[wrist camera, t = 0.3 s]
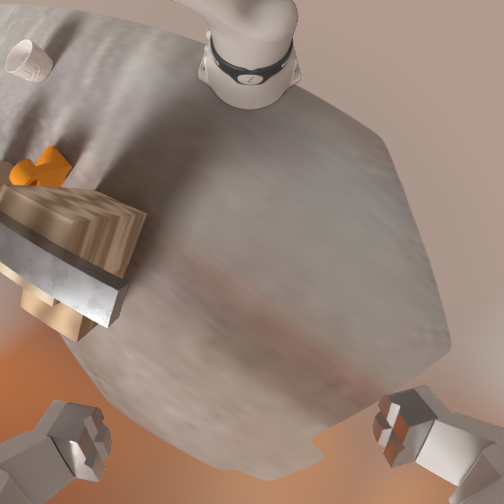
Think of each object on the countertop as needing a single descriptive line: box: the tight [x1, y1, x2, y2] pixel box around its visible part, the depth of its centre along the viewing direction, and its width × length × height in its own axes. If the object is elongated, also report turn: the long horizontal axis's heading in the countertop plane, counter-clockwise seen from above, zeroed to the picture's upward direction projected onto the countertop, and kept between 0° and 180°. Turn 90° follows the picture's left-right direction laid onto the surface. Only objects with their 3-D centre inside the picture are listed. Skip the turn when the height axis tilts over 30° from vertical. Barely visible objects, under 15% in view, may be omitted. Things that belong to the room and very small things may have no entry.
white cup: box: [5, 39, 53, 83], centre depth 42 cm, size 8×8×10 cm
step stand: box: [0, 184, 147, 342], centre depth 40 cm, size 12×20×26 cm, turn 156°
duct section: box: [0, 211, 130, 328], centre depth 26 cm, size 20×4×3 cm, turn 66°
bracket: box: [9, 146, 72, 187], centre depth 45 cm, size 11×7×12 cm, turn 135°
